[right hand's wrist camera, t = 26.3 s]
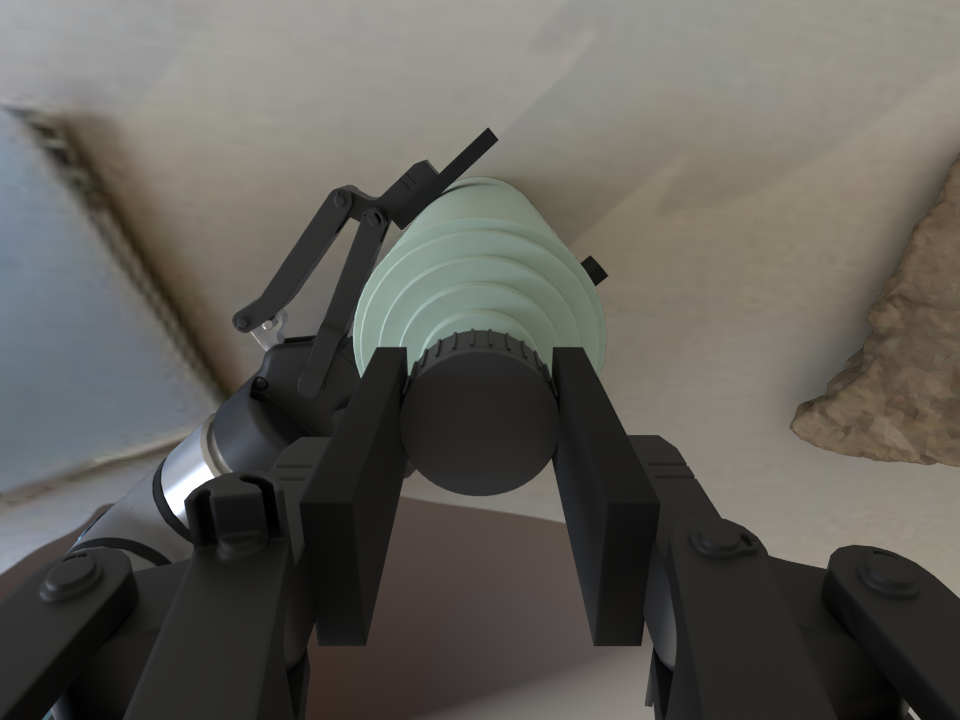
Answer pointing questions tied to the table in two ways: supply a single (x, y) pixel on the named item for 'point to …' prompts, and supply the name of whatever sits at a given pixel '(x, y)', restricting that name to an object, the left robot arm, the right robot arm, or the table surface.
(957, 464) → the stone
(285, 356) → the left robot arm
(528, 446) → the cap
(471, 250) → the bottle
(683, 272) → the table surface
